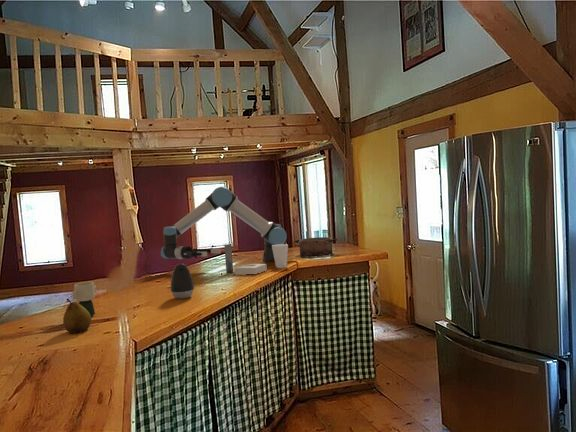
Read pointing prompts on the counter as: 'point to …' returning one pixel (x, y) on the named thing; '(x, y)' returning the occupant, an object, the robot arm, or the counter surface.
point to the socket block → (250, 269)
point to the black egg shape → (181, 282)
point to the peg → (228, 258)
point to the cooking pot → (316, 246)
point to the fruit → (76, 318)
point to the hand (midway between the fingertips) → (213, 252)
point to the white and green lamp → (85, 295)
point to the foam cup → (280, 255)
